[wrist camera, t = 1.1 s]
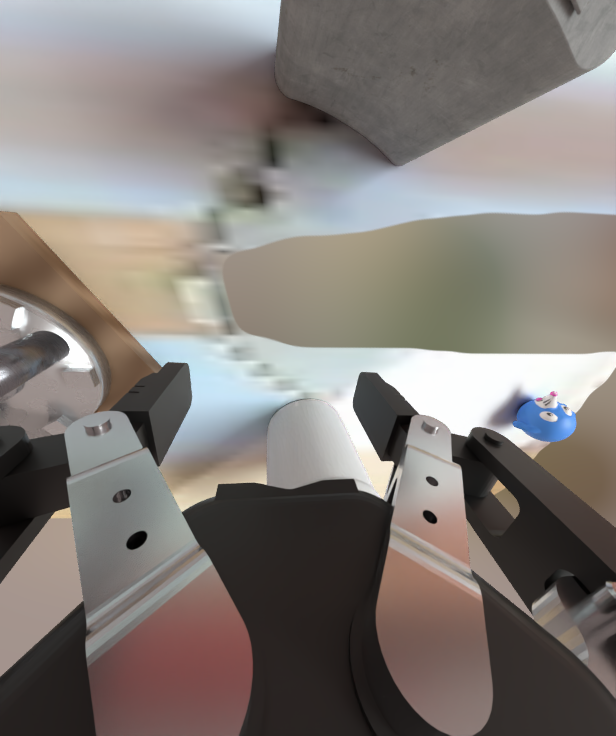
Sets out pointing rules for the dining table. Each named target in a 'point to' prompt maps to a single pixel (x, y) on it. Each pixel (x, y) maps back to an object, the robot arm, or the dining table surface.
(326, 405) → the utensil holder
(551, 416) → the blue toy figure
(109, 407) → the brown wooden board
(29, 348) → the silver round piece
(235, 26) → the dining table surface
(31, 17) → the dining table surface
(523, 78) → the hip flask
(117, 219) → the dining table surface
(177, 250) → the dining table surface
